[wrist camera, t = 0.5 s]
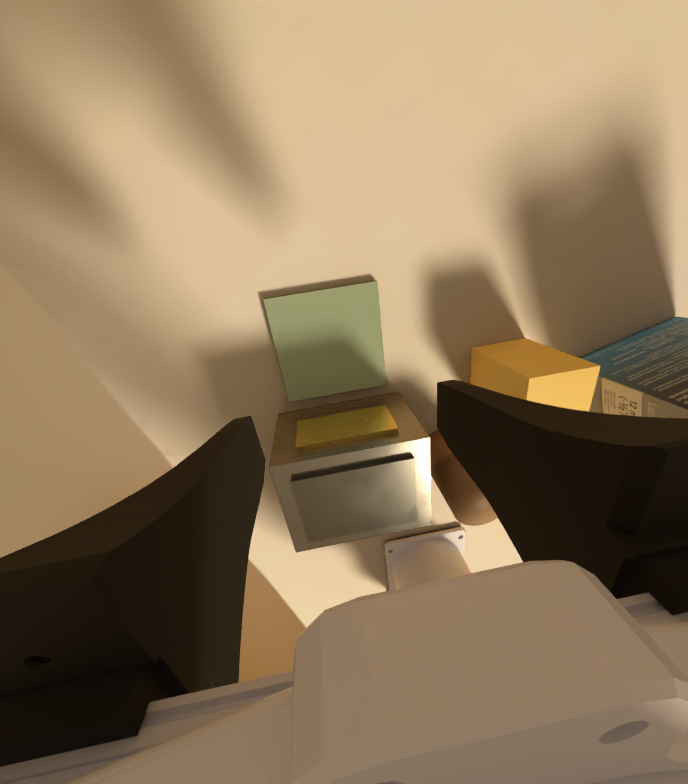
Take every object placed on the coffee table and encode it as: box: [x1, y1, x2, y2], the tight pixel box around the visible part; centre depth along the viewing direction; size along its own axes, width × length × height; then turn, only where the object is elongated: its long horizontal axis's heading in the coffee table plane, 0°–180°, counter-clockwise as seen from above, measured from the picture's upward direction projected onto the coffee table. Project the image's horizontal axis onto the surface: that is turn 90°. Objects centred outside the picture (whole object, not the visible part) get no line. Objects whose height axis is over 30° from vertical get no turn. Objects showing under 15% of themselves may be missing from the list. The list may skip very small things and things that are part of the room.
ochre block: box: [470, 338, 600, 411], centre depth 19 cm, size 4×4×6 cm
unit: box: [269, 393, 431, 552], centre depth 20 cm, size 7×9×6 cm
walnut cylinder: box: [429, 430, 498, 526], centre depth 22 cm, size 4×4×6 cm
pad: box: [263, 281, 386, 402], centre depth 19 cm, size 7×7×1 cm
